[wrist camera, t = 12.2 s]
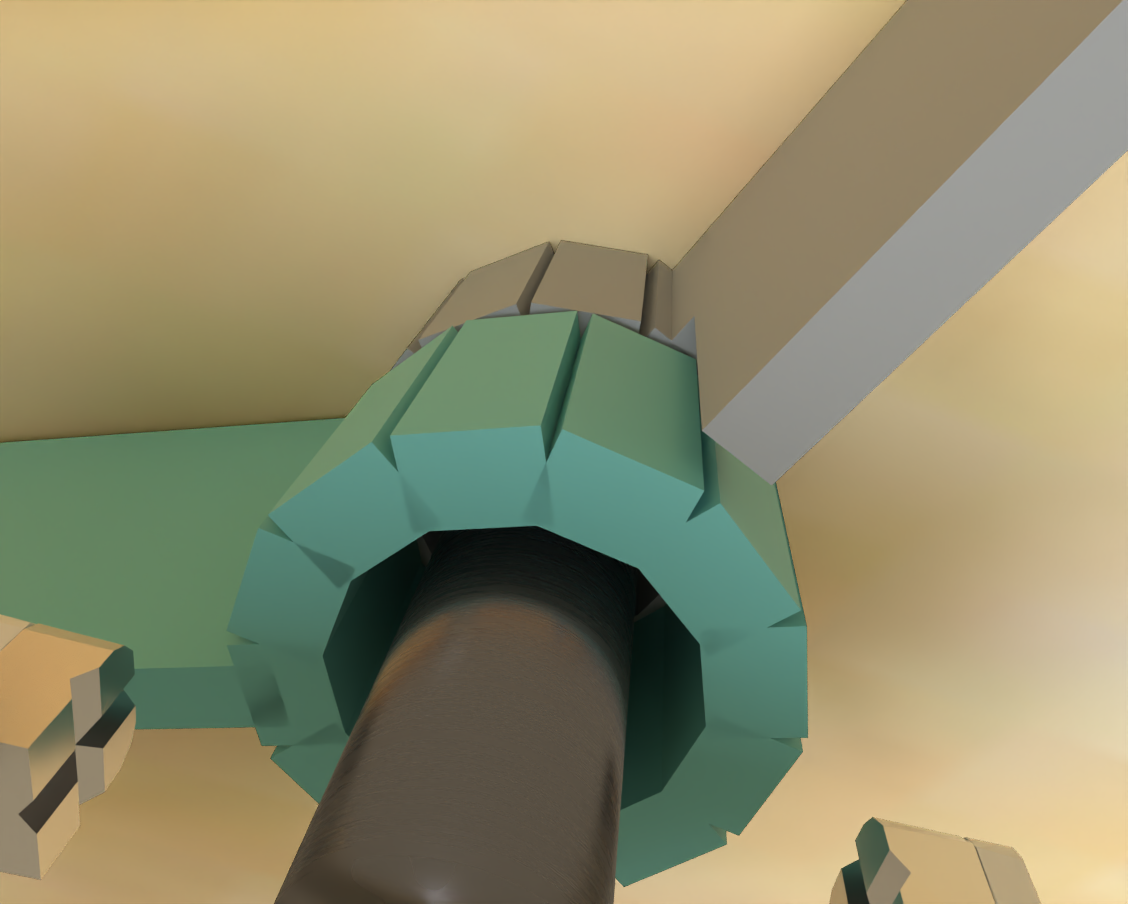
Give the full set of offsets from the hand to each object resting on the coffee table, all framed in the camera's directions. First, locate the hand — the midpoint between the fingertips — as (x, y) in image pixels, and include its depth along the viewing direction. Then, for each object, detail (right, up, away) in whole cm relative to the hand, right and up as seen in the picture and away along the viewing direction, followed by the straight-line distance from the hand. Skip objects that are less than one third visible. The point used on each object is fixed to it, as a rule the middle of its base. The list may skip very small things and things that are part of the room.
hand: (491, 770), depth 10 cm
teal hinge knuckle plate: (-5, +4, +9) cm, 11 cm away
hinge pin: (+1, +4, +9) cm, 10 cm away
